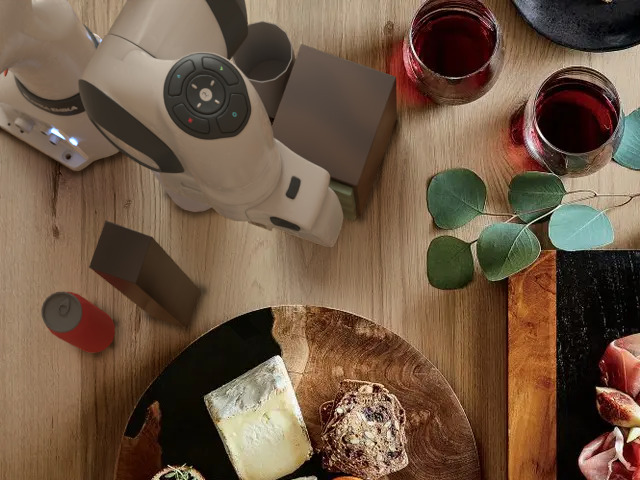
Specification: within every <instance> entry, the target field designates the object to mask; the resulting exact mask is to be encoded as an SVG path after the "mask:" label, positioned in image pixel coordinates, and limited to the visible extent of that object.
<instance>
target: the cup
mask: <svg viewBox="0 0 640 480" xmlns="http://www.w3.org/2000/svg"><path fill="white" fill-rule="evenodd" d="M231 60H232V63H234V64H235V65H236V66H237V67H238V68H239V69H240V70H241V71H242V72H243V74H244V75H245V76H246V77H247V78H248V80H249V81H250V82H251V84H252V85H253V87H254V88H255V90H256V91H257V93H258V95H259V97H260V99H261V101H262V103H263V105H264V107H265V109H266V112H267V114H268V117H269V118H272V119H275V116H276V113H277V110H278V108H279V105H280V102H281V99H282V96H283V94H284V91H285V88H286V85H287V82H288V80H289V77H290V74H291V71H292V68H293V66H294V63H295V60H296V55H295V51H294V46H293V43H292V41H291V39H290V37H289V34H288V33H287V32H286V31H285V30H284V29H283V28H282V27H280V26H279V25H278V24H277V23H274V22H271V21H267V20H266V21H265V20H259V21H256V22H251V23H248V36H247V38H246V39H245V41H244V42H243V43H242V45H241V46H240V47H239V49H238V50H237V51H236V53H235V54H234V55H233V57H232V58H231Z"/></svg>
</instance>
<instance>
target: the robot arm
mask: <svg viewBox="0 0 640 480" xmlns="http://www.w3.org/2000/svg"><path fill="white" fill-rule="evenodd" d="M248 24H249V20H248V11H247V4H246V1H245V0H126V1H125V2H124V5H122V8H121V9H120V11H119V12H118V14H117V16H116V18H115V20H114V21H113V22H112V25H111V26H110V28H109V30H108V31H107V32H106V34H105V35H104V36H103V37H102V38H101V37H100V36H99V35H98V34H97V33H95V32H92V30H90V28H89V27H88V26H87V25H85V23H83V22H82V20H81V18H79V15H78V14H77V13H76V11H75V10H74V8H73V7H72V5H71V3H70V2H69V1H68V0H0V128H1V129H2V130H3V131H5V132H7V133H9V134H11V135H13V136H14V137H16V138H17V139H19V140H21V141H22V142H24V143H26V144H28V145H29V146H30V147H33V148H34V149H36V150H38V151H39V152H41V153H43V154H45V155H46V156H48V157H49V158H51V159H53V160H55V161H56V162H58V163H59V164H61V165H63V166H64V167H66V168H68V169H69V170H71V171H74V172H79V171H82V170H84V169H86V168H87V167H88V166H90V165H91V164H92V163H93V162H95V161H98V160H101V159H105V158H109V157H111V156H114V155H115V154H118V153H119V152H120V153H122V154H123V155H124V156H125V157H127V158H128V159H130V160H131V161H133V162H135V163H136V164H138V165H139V166H141V167H144V168H146V169H148V170H150V171H151V170H153V171H156V172H159V173H160V176H161V179H162V181H163V183H164V185H165V186H166V187H167V188H168V189H169V190H171V191H172V192H174V193H176V194H178V195H181V196H184V197H187V198H190V199H192V200H195V201H198V202H201V203H204V204H207V205H209V206H211V207H212V208H211V209H213V210H214V211H215V212H216V213H217V214H219V215H220V216H222V217H224V218H226V219H228V220H231V221H235V222H241V223H242V222H247V223H248V224H250V225H253V226H255V227H259V228H262V229H265V230H267V231H270V232H272V231H273V229H275V230H278V231H280V232H283V233H286V234H289V235H292V236H294V237H297V238H300V239H302V240H306V241H308V242H311V243H314V244H317V245H320V246H322V247H325V248H333V247H335V245H336V243H337V241H338V238H339V237H340V234H341V230H342V227H343V225H344V224H343V223H344V218H343V212H342V208H341V205H340V202H339V199H338V197H337V195H336V194H335V192H334V191H333V190H332V189H331V188H330V187H329V182H330V174H329V173H328V172H327V171H326V170H325V169H323V168H321V167H319V166H317V165H316V164H314V163H312V162H310V161H308V160H306V159H305V158H303V157H301V156H299V155H297V154H296V153H294V152H293V151H291V150H290V149H289V148H287V147H286V146H285V145H284V144H282V143H281V142H280V141H278V140H277V139H275V138H274V137H273V131H272V123H271V120H270V117H268V114H267V112H266V109H265V107H264V105H263V103H262V101H261V99H260V97H259V95H258V93H257V91H256V90H255V88H254V87H253V85H252V84H251V82H250V81H249V80H248V78H247V77H246V76H245V75H244V74H243V72H242V71H241V70H240V69H239V68H238V67H237V66H236V65H235V64H234V63H233V61H231V60H232V57H233V55H234V54H235V53H236V51H237V50H238V49H239V47H240V46H241V45H242V43H243V42H244V41H245V39H246V38H247V36H248ZM69 157H70V158H69ZM68 158H69V159H68Z"/></svg>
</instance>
